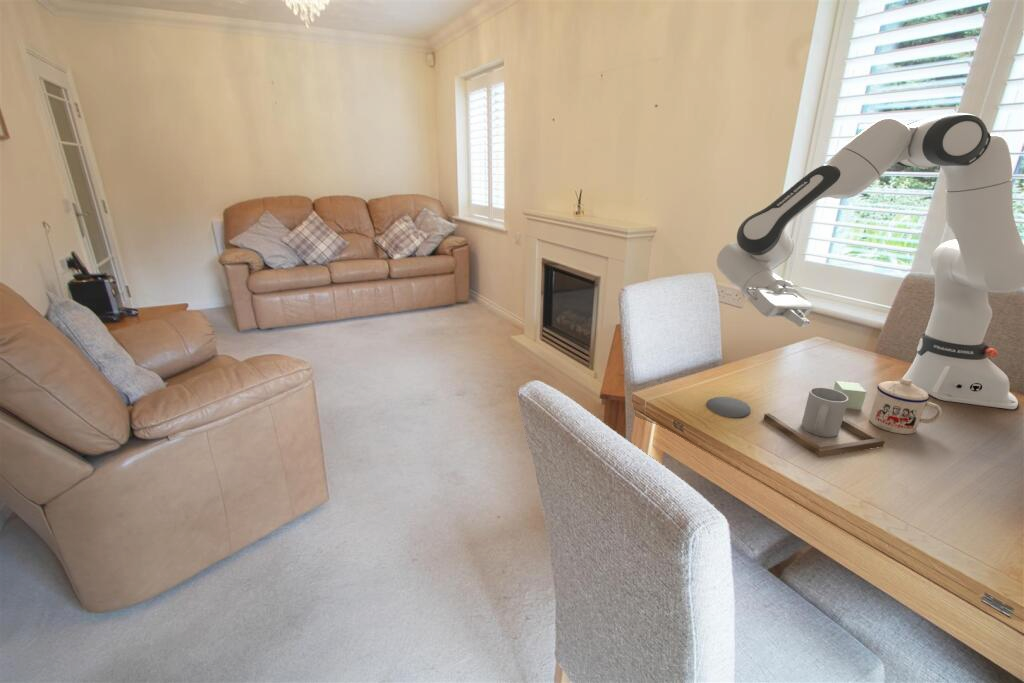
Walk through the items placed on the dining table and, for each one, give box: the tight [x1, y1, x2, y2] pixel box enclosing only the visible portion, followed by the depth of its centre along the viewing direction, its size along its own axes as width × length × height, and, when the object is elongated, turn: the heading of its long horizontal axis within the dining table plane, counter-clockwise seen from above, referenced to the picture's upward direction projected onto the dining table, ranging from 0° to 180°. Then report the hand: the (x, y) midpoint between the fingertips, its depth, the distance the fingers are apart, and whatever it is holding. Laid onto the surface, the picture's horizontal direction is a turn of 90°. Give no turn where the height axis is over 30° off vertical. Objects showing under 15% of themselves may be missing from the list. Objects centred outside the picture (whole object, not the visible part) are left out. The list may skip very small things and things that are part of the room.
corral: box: [763, 413, 886, 458], centre depth 103 cm, size 16×16×2 cm
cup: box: [801, 386, 848, 438], centre depth 102 cm, size 7×10×9 cm
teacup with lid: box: [868, 377, 943, 435], centre depth 104 cm, size 12×9×12 cm
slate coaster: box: [706, 396, 752, 419], centre depth 114 cm, size 10×10×1 cm
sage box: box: [833, 380, 867, 410], centre depth 115 cm, size 5×5×5 cm
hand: (805, 324), depth 113 cm, fingers closed
